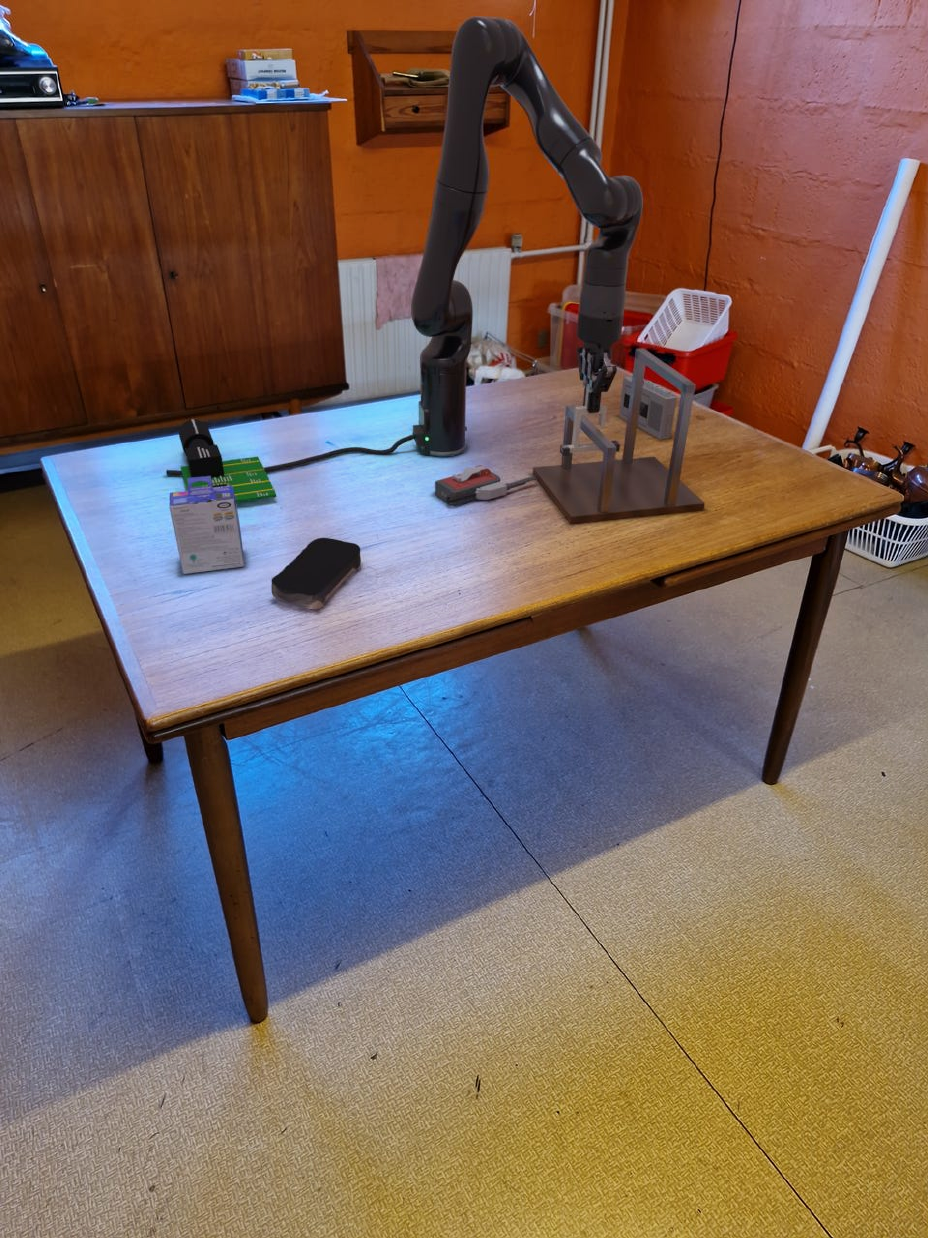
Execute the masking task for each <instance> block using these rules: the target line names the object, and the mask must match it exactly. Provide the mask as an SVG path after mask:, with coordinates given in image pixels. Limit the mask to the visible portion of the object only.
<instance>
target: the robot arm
mask: <svg viewBox="0 0 928 1238" xmlns="http://www.w3.org/2000/svg"><path fill="white" fill-rule="evenodd" d="M448 77H449V78H448V89H447V90H448V91H447V104H446V116H445V121H444V122H445V123H444V129H443V135H442V136H443V138H442V145H441V151H440V158H439V163H438V168H437V173H436V177H435V183H434V191H433V197H432V206H431V212H430V218H429V223H428V229H427V234H426V240H425V245H424V249H423V255H422V260H421V263H420V267H419V270H418V274H417V278H416V281H415V286H414V289H413V293H412V298H411V303H410V315H411V319H412V323H413V325H414V327H415V330H416V331H417V332H418V333H419V334H420V335H422V336H424V337H426V338H430V341H429V342H428V344H427V345H426V347H424V348H423V350H422V351H421V353H420V356H419V370H420V371H419V372H420V373H419V374H420V375H419V376H420V377H419V378H420V400H419V401H418V403H417V404H418V405H417V406H418V424H413V425H412V434H410V435H407V436H405V437H403V438H400V439H399V440H397V441H395V443H394V444H393V445H392V446H391V447H389V448H386V449H373V448H369V447H362V446H351V447H350V446H349V447H343V448H338V449H335V450H332V451H331V450H330V451H328V452H325V453H321V454H316V455H314V456H313V455H312V456H309V457H305V458H302V459H298V460H295V461H294V460H293V461H290V462H285V463H280V464H274V465H271V466H263V468H264V470H265V472H266V473H270V472H276V471H280V470H286V469H289V468H294V467H298V466H301V465H302V466H303V465H305V464H309V463H313V462H317V461H320V460H324V459H328V458H331V457H335V456H337V455H342V454H348V453H364V454H370V455H378V456H385V455H389V454H392V453H394V452H395V451H396V450H397V449H398V447H400V446H401V445H403V444H405V443H408V442H410V441H414V443H415V444H416V446H417V447H420V450H421V452H422V453H423V455H424V456H434V457H452V456H453V457H454V456H457V455H460V454H462V453H464V452H465V451H466V447H467V444H466V432H467V431H468V430H467V429H468V427H467V426H466V416H467V415H466V411H467V410H466V409H467V408H466V407H467V403H466V402H467V360H468V358H469V355H470V352H471V347H472V334H473V316H474V309H473V308H474V307H473V301H472V296H471V294H470V292H469V290H468V288H467V287H466V286H465V285H464V283H462V282H461V281H458V280H456V279H455V274H456V270H457V268H458V266H459V263H460V260H461V258H462V257H463V255H464V253H465V251H466V250H467V248H468V247H469V244H470V243H471V241H472V240H473V238H474V236H475V234H476V232H477V230H478V228H479V226H480V224H481V221H482V220H483V216H484V213H485V208H486V203H487V198H488V193H489V190H490V189H489V188H490V179H491V171H490V170H491V169H490V163H489V158H488V157H489V156H488V153H487V147H486V144H485V137H484V119H485V113H486V112H485V111H486V107H487V102H488V96H489V92H490V89H491V87H493V88H495V87H500V88H502V89H503V90H504V91H505V92H507V93H508V94H509V96H510V97H512V98H513V99H514V100H515V101H516V102H517V103H518V105H520V107H521V109H522V110H523V112H524V113H525V115H526V118H527V120H528V122H529V125H530V129H531V132H532V135H533V138H534V141H535V143H536V145H537V146H538V147H537V148H539V150H540V152H541V153H542V155H543V156H544V157H545V159H546V160H547V161H548V162H549V164H550V165H551V167H552V168H553V169H554V171H555V172H557V174H558V175H559V176H560V177H561V179H563V181H564V182H565V185H566V187H567V190H568V192H569V194H570V196H571V198H572V200H573V203H574V205H575V206H576V209H577V210H578V213H579V214H580V216H581V217H582V218H583V219H584V220H585V221H586V222H587V223H589V224H590V226H592V227H594V228H597V229H599V230H598V234H597V237H596V239H595V240H594V241H593V242H592V243H591V244H589V245H588V247H587V249H586V251H585V257H584V266H583V275H582V283H581V284H582V285H581V289H580V294H579V303H578V312H577V313H578V314H577V315H578V316H577V327H576V337H577V339H578V340H579V341H582V342H583V346H577V348H576V355H577V367H578V375H579V380H580V381H581V382H582V388H584V389H583V399H582V406H585V398H586V388H587V384H589V392H588V402H587V411H588V412H589V413H598V412H599V411H600V405H601V403H602V401H601V400H602V393H608V392H609V390H610V387H611V385H612V383H613V381H614V378H615V376H616V374H617V372H618V368H617V365H612V363H611V362H612V356H613V355H612V345H614V344H615V343H617V342H619V341H620V340H621V338H622V331H623V321H624V313H625V305H626V287H627V285H626V283H627V277H628V268H629V267H628V266H629V256H630V253H631V250H632V247H633V244H634V242H635V239H636V235H637V232H638V229H639V226H640V221H641V218H642V214H643V206H644V199H643V192H642V188H641V186H640V184H639V183H638V181H637V180H636V178H634V177H632V176H630V175H616V176H611V177H610V176H608V174H607V173H605V171H604V170H603V167H602V166H601V165H602V162H603V152H602V150H601V148H600V147H599V144H597V142H596V141H595V140H594V138H593V137H592V136H591V135H590V134H589V132H588V131H587V130H586V129H585V128H584V126H583V125H582V124H581V122H580V121H579V120H578V119H577V117H576V116H575V115H574V114H573V112H572V111H571V110H570V109H569V107H568V106H567V104H566V103H565V102H564V100H563V99H562V97H561V96H560V95H559V93H558V92H557V90H556V88H555V87H554V86H553V84H552V82H551V81H550V79H549V77H548V76H547V74H546V72H545V70H544V69H543V67H542V65H541V64H540V62H539V60H538V58H537V56H536V55H535V52H534V51H533V49H532V47H531V46H530V44H529V42H528V40H527V39H526V37H525V35H524V34H523V32H522V30H520V27H518V26H517V24H516V23H514V22H513V21H511V20H510V19H508V18H502V17H495V16H494V17H493V16H479V15H477V16H471V17H468V18H466V19H465V20H464V21H463V22H462V24H460V26H459V27H458V29H457V30H456V34H455V36H454V40H453V43H452V47H451V56H450V63H449V76H448ZM417 447H416V448H417ZM166 476H176V477H177V476H178V477H180V476H181V477H183V475H182V472H181V470H177V469H174V470H173V469H166Z"/></svg>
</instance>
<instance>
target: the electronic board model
mask: <svg viewBox="0 0 928 1238" xmlns="http://www.w3.org/2000/svg"><path fill="white" fill-rule="evenodd" d="M178 437H179V440H180V444H181V447H182V450H183V453H184V456H185V457H186V461H187V465H183V466H179V467H180V471H181V472H182V475H183V476H182V479H183V482H184V485H185V489H186V491H188V481H187V478H192V477H203V476H211V481H212V486H213V488H214V487H222V486H230V485H232V487H233V491H234V495H235V500H236V504H238V503H243V502H244V503H245V502H252V501H258V500H265V499H273V498H277V493H276V491H275V488H274V487H273V485H272V482H271V480H270V479H269V476H268V474H267V472H265V470H264V466H263V463H262V461H261V460H260V458H259V456H252V457H251V456H250V457H244V458H243V457H242V458H236V459H235V458H234V459H229V460H228V459H227V460H223V457H222V456H223V455H222V453H221V451H220V448H219V446H218V444H215V442H214V439H213V436H212V434H211V432H210V429H209V427H208V425H207V424H206V423H205V422H203V421H202V420H200V419H193V418H192V419H188V420H186V421H184V422H183V423H182V424H181V425H180V427H179V430H178ZM191 486H192V487H203V486H208V483H207V482H203V481H198V482H195V483H193V484H192V485H191Z"/></svg>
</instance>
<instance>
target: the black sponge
mask: <svg viewBox="0 0 928 1238" xmlns="http://www.w3.org/2000/svg"><path fill="white" fill-rule="evenodd" d="M361 563H362V558H361V547H360V546H359V544H357V543H354V542H348V541H343V540H341V539H336V538H330V537H319V538H316V539H313V540H312V541H310V543H308V544H307V545H306V547H305V548H303V550H301V552H300V553H299V554H298V555H296V557H295V558H293V560H291V562H289V563H288V564H287V565H286V566H285V567H284V568H283V569H282V571H280V572H279V573H277V574H276V575H275V576H273V577H272V578H271V585H270V587H271V588H270V590H271V594H272V597H273V598H275V599H277V600H279V601H281V602H283V603H289V604H292V605H294V606H299V607H301V608H305V609H310V610H318V609H321V608H323V607H324V605H325V603H326V601H328V600H329V598H330V597H331V596H332V595H333V594H335V592H336V590H337V589H339V587H340V586H341V585H342V584H343V583H344V582H345V580H346V579H347V578H348V577H350V575H351V574H352V573H354V572H355V571H357V570H358V569H359V567H360V566H361Z"/></svg>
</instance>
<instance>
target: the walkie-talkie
mask: <svg viewBox="0 0 928 1238" xmlns="http://www.w3.org/2000/svg"><path fill="white" fill-rule="evenodd" d="M533 481H537V479H536V477H535V476H534V475H532V476H529V477H526V478H523V479H519V480H516V481H513V482H509V483H503V482H502V481H501V477H500V476H499V475H497V474H496V473H494V472H492V471H491V470H490V469H489V468H488V467H486V466H484V465H483V464H482V465H481V464H480V465H476V466H473V467H469V468H466V469H464V470H463V472H462V473H458V474H456V473H455V474H452V476H448V477H445V478H441V479H438V480H435V482H434V495H435V496H436V497H438V498H440V499H441V500H442V501H444V502H446V504H449V505H451V506H457V505H461V504H464V503H467V502H470V501H473V500H485V501H487V500H492V499H494V498H498V497H501V496H503V497H504V496H506V495H507V494H508V491H510V490H511V489H514V488H518V487H521V486H524V485H526V484H528V483H530V482H533Z"/></svg>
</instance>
